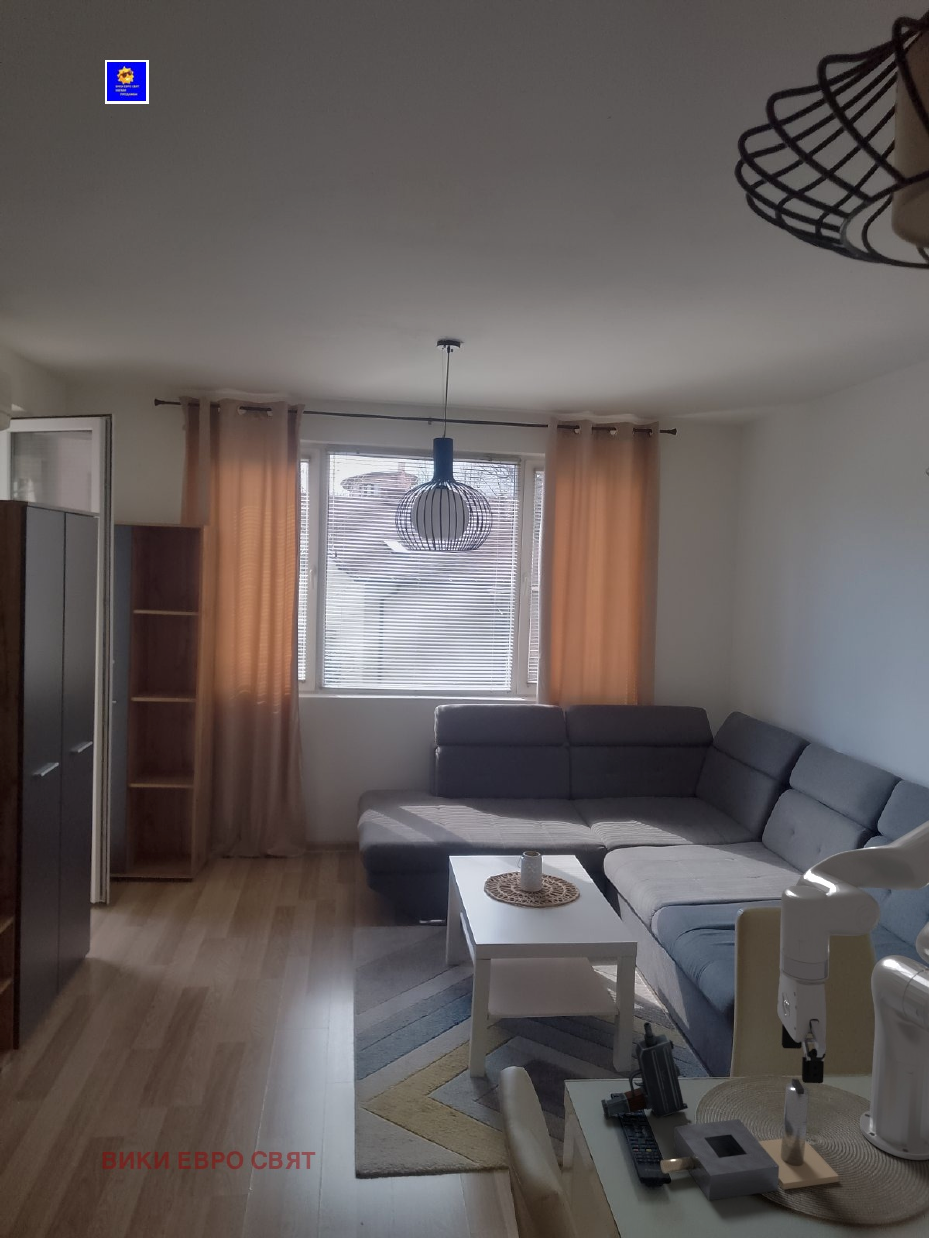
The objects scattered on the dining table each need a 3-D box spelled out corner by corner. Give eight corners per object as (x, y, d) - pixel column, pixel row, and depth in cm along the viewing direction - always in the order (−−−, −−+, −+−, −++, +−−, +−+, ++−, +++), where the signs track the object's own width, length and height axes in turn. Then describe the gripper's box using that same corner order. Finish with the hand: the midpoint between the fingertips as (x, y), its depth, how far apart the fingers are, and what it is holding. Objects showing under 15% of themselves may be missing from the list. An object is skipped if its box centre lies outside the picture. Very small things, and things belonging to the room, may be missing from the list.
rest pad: (801, 1141, 149) (801, 1135, 149) (838, 1181, 139) (838, 1175, 139) (749, 1148, 146) (749, 1142, 146) (783, 1189, 137) (783, 1183, 137)
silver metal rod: (777, 1150, 144) (783, 1076, 144) (799, 1151, 144) (805, 1078, 144) (784, 1164, 141) (790, 1089, 140) (806, 1166, 141) (813, 1091, 140)
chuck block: (737, 1141, 148) (738, 1118, 148) (777, 1190, 136) (779, 1165, 136) (646, 1152, 144) (647, 1129, 144) (679, 1204, 133) (680, 1179, 132)
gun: (586, 1038, 154) (664, 1013, 156) (606, 1123, 155) (683, 1098, 157) (590, 1046, 151) (669, 1021, 153) (610, 1133, 153) (688, 1107, 155)
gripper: (764, 940, 150) (762, 1035, 151) (799, 989, 132) (796, 1095, 134) (808, 941, 149) (805, 1035, 150) (848, 990, 132) (845, 1097, 133)
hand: (801, 1064), depth 142 cm, fingers open, 9 cm apart
